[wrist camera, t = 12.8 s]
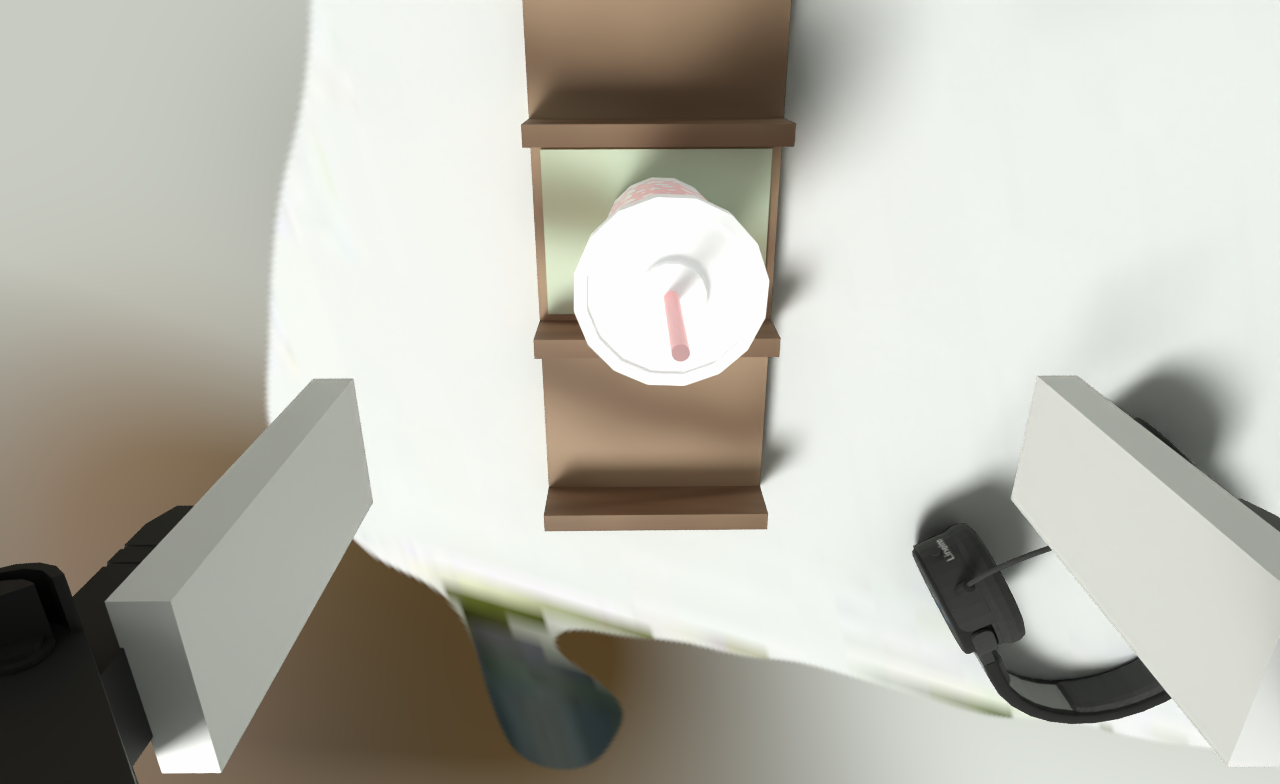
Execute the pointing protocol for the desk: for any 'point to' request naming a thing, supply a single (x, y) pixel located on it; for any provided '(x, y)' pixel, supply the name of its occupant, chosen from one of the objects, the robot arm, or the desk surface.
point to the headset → (1022, 632)
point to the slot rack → (581, 201)
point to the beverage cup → (670, 286)
